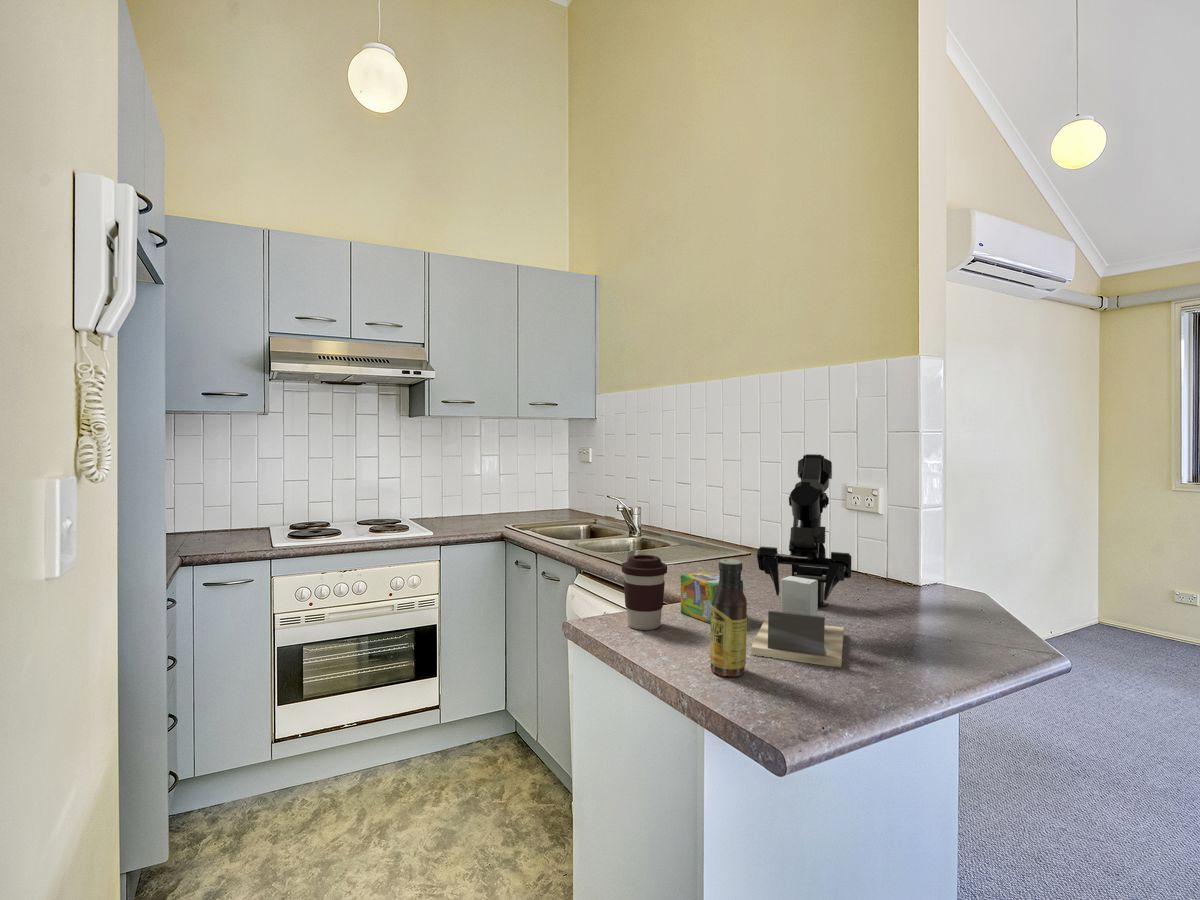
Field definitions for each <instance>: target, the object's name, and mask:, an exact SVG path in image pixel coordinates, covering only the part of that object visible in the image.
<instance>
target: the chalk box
mask: <svg viewBox="0 0 1200 900" xmlns="http://www.w3.org/2000/svg"><path fill="white" fill-rule="evenodd" d="M718 585H719V573H715V572H711V571H708V570H707V571H700V572H694V573H693V572H692V573H686V574H681V575H680V613H681V614H684V615H686V616H690V617H692V618H695V619H697V620H700V621H703V622H705V623H707V624H710V625H711V604H712V601H713V598H714V596H715V593H716V590H717V587H718ZM740 588H741V590H742V591H743V592H744V581H743V579H741V587H740Z"/></svg>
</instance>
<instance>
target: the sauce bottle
mask: <svg viewBox="0 0 1200 900" xmlns="http://www.w3.org/2000/svg"><path fill="white" fill-rule="evenodd" d="M718 570H719V573H718V574H719V585H718V587H717V590H716V593H715V596H714V598H713V601H712V604H711V624H710V639H709V662H710V670H711V671H712V672H713V674H716V675H718V676H720V677H726V676H728V678H729V677H730V678H732V677H733V678H735V677H740V676H743V675H744V673H745V669H746V668H745V666H746V662H747V661H746V659H747V635H748V634H747V631H748V615H747V614H748V613H747V610H748V608H747V607H748V600H747V598H746V595H745V593H744V590H743V591H742V590H741V588H740V587H741V580H742V571H743V562H742V561H741V560H739V559H734V558H722V559H720V560H719V561H718Z"/></svg>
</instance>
